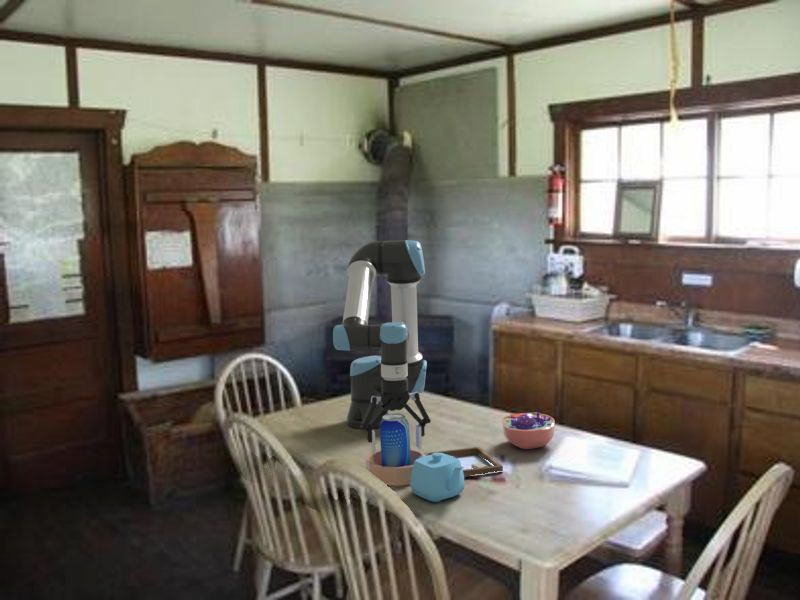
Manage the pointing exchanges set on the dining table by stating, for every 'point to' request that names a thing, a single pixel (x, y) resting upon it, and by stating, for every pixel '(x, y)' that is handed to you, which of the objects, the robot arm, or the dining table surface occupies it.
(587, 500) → the dining table surface
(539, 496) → the dining table surface
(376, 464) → the dish
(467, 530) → the dining table surface
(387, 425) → the beer can
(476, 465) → the stone
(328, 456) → the dining table surface
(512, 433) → the cell model
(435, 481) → the teapot
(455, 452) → the tray
